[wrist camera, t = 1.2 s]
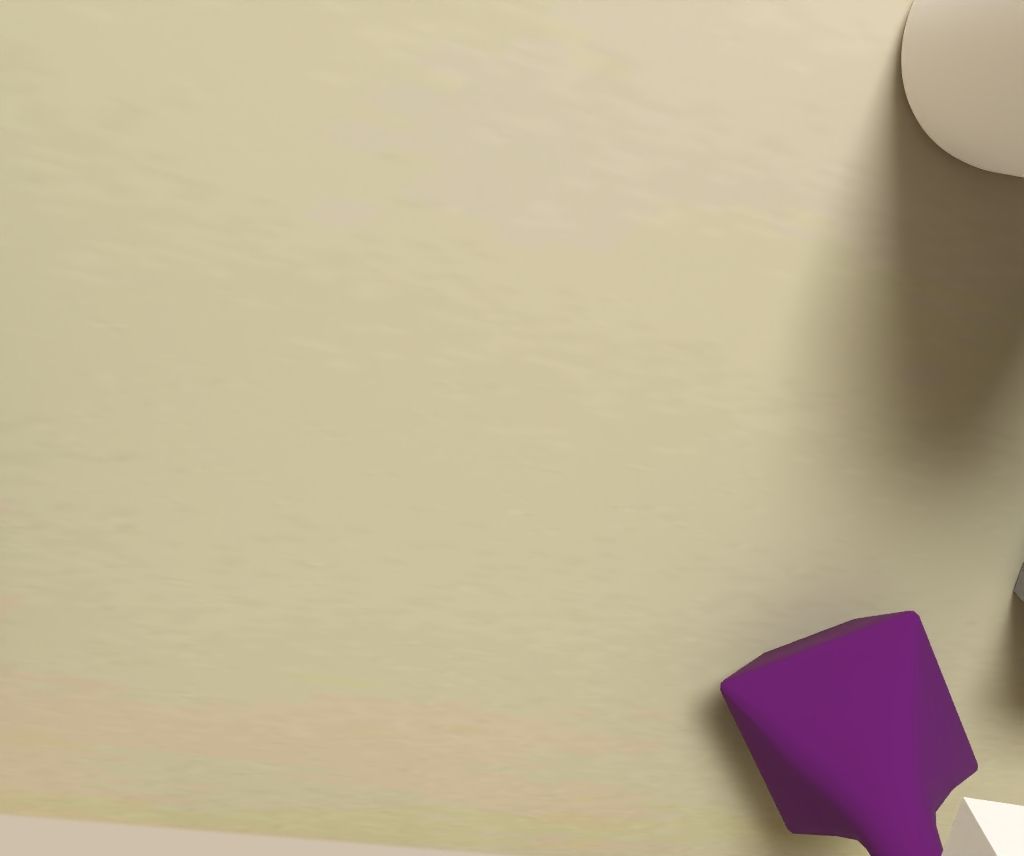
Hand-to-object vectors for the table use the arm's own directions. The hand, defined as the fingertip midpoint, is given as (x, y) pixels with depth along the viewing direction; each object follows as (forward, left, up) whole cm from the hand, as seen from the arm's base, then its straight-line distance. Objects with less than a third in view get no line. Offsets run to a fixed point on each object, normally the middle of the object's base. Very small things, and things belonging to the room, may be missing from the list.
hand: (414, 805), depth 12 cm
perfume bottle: (+15, -12, -24) cm, 31 cm away
